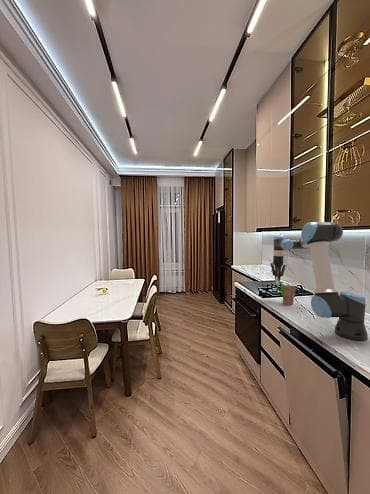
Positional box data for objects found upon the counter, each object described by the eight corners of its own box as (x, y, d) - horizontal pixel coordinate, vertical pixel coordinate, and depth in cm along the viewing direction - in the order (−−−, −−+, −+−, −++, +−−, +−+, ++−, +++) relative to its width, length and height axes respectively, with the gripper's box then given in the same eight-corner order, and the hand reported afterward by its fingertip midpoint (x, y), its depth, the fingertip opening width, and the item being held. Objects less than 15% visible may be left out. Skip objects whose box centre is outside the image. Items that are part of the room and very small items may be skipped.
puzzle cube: (295, 297, 205) (295, 285, 205) (282, 296, 207) (283, 285, 207) (292, 294, 215) (292, 283, 214) (280, 293, 217) (280, 282, 216)
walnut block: (289, 306, 182) (289, 287, 181) (282, 304, 186) (283, 286, 185) (293, 304, 187) (294, 285, 186) (287, 302, 191) (287, 284, 190)
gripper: (288, 255, 188) (287, 285, 190) (273, 254, 198) (272, 282, 200) (284, 256, 183) (283, 286, 185) (268, 255, 193) (267, 283, 195)
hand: (277, 284), depth 193 cm, fingers closed
